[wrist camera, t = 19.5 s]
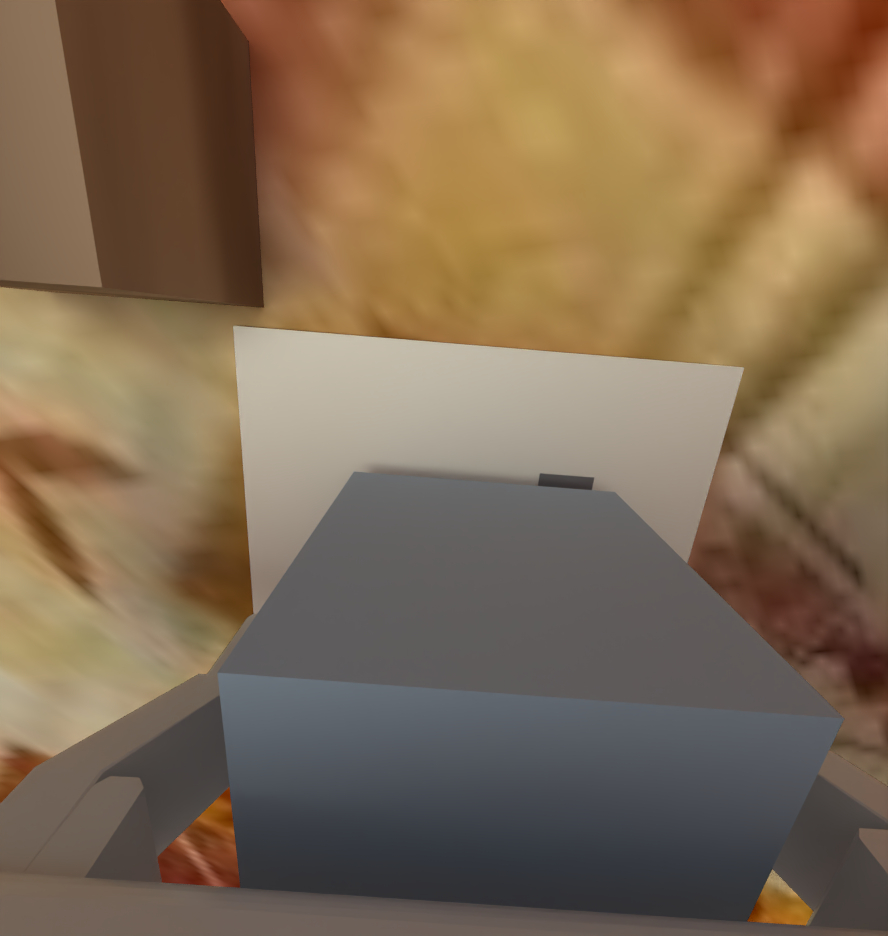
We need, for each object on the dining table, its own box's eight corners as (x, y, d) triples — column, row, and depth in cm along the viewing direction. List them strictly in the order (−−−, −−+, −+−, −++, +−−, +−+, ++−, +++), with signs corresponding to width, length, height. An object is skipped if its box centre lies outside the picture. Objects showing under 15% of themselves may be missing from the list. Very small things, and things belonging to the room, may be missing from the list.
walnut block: (250, 43, 9) (3, -312, 4) (265, 307, 10) (101, 287, 5) (0, 24, 9) (-563, -361, 4) (53, 292, 10) (-300, 257, 5)
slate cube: (614, 491, 10) (843, 717, 4) (570, 695, 12) (685, 1048, 6) (353, 471, 10) (217, 671, 4) (351, 680, 12) (254, 1020, 6)
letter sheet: (735, 366, 10) (744, 367, 10) (630, 738, 14) (634, 747, 14) (238, 325, 10) (232, 325, 10) (265, 713, 14) (261, 721, 14)
